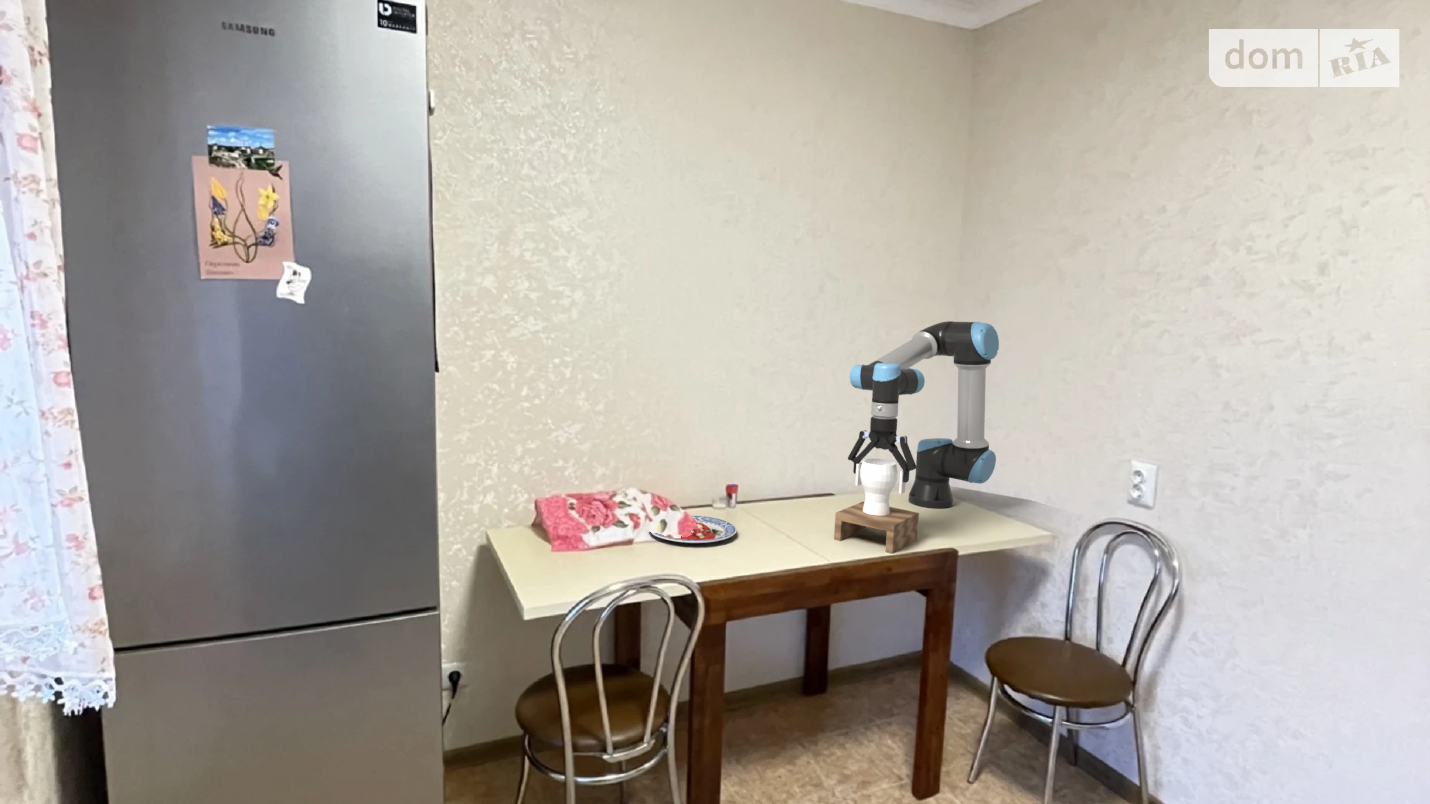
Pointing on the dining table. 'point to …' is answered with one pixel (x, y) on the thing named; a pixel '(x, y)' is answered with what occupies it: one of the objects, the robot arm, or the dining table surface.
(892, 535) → the walnut shelf
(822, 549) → the dining table surface
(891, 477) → the cup
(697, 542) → the ceramic plate
